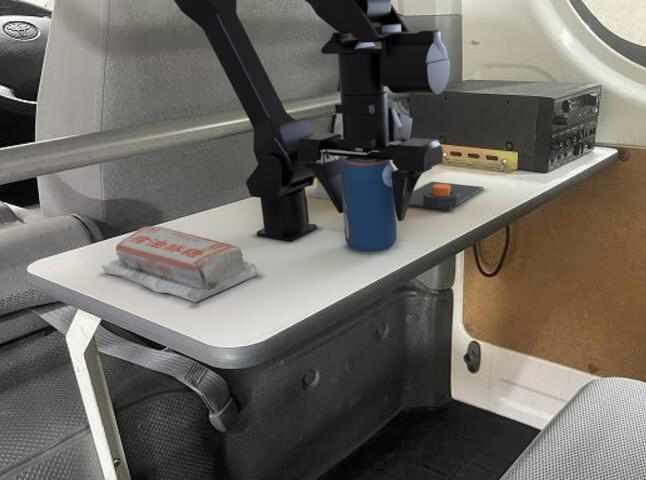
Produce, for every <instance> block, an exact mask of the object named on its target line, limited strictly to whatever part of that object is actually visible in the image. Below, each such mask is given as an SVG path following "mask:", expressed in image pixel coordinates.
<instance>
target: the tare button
mask: <svg viewBox="0 0 646 480" xmlns="http://www.w3.org/2000/svg"><path fill="white" fill-rule="evenodd" d="M433 195H434V196H448V195H450V185H448V184H435V185H433Z"/></svg>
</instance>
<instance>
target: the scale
mask: <svg viewBox="0 0 646 480" xmlns="http://www.w3.org/2000/svg"><path fill="white" fill-rule="evenodd" d="M435 184H448V185H450V195H448V196H434V195H433V185H435ZM484 188H485V187H484V186H477V185H469V184H467V185H466V184H459V183H450V182H440V181H429V182H428V183H426V184H424V185H422V186H420V187H419V188H417V189H414V191H413V194H412V197H411V200H410V203H409V206H408V208H414V209H420V210H421V209H422V210H429V211H437V212H443V213H450V212H452V211H453V210H455V209H456V208H458V207H460V206H461V205H463V204H464V203H466V202H467V201H469V200H470V199H472V198H474V197H476V196H477V195H478V194H479V193H482V192H483V191H484Z"/></svg>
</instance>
